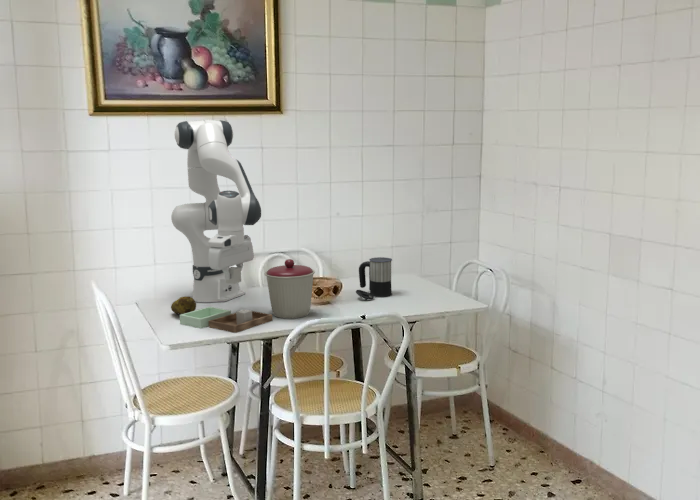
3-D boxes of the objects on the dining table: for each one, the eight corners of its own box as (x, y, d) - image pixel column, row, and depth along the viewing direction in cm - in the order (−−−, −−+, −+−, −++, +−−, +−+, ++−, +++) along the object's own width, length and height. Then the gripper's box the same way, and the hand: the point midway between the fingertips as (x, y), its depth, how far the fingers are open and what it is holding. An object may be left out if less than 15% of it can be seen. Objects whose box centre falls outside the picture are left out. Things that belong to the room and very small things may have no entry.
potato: (192, 311, 278) (191, 290, 277) (198, 319, 266) (197, 297, 265) (170, 313, 275) (169, 292, 274) (175, 321, 264) (173, 299, 262)
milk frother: (393, 292, 301) (392, 256, 299) (391, 301, 286) (390, 264, 283) (358, 292, 303) (357, 257, 300) (354, 301, 287) (354, 264, 285)
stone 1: (232, 280, 258) (232, 266, 257) (241, 281, 256) (240, 267, 255) (225, 282, 255) (225, 268, 254) (234, 283, 253) (233, 269, 252)
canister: (260, 313, 272) (257, 257, 268) (306, 308, 279) (304, 253, 275) (275, 325, 255) (273, 265, 252) (323, 318, 262) (322, 260, 259)
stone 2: (244, 323, 256) (244, 309, 255) (252, 325, 253) (251, 310, 253) (236, 325, 253) (236, 311, 252) (244, 327, 250) (244, 313, 250)
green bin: (210, 317, 268) (209, 306, 268) (231, 321, 262) (230, 310, 261) (180, 326, 257) (179, 314, 257) (201, 330, 251) (200, 319, 250)
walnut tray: (246, 317, 266) (246, 309, 266) (272, 322, 258) (272, 314, 258) (208, 329, 252) (208, 320, 252) (235, 335, 244) (235, 326, 244)
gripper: (242, 233, 263) (244, 271, 266) (204, 242, 246) (206, 282, 248) (257, 234, 260) (258, 272, 263) (219, 243, 243) (221, 284, 245)
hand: (233, 277), depth 255 cm, fingers closed on stone 1, 4 cm apart
